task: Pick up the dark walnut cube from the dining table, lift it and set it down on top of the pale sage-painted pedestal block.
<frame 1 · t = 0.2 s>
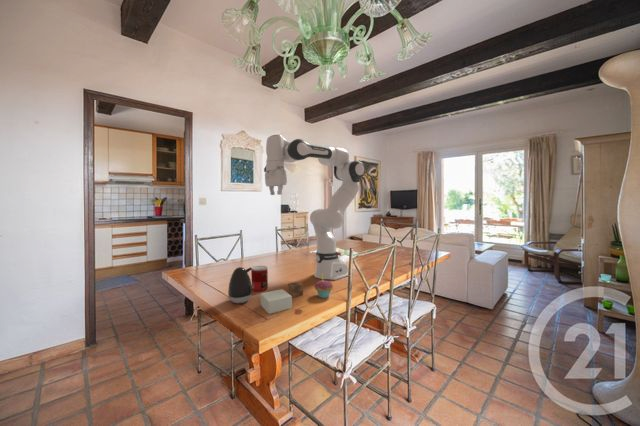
hand: (275, 194, 129), 47 cm above the table, fingers open, 8 cm apart
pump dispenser: (240, 301, 112), on the table
pedestal: (276, 306, 106), on the table
cupcake: (323, 296, 118), on the table
canned food: (259, 289, 127), on the table
walnut cube: (295, 294, 120), on the table
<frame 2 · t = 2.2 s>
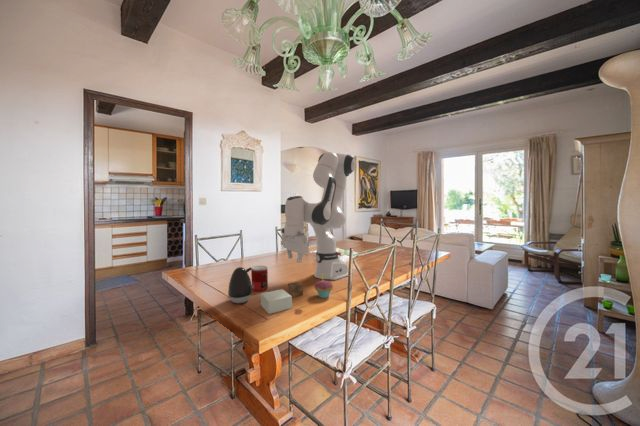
hand: (294, 260, 119), 16 cm above the table, fingers open, 8 cm apart
nothing on the table moved.
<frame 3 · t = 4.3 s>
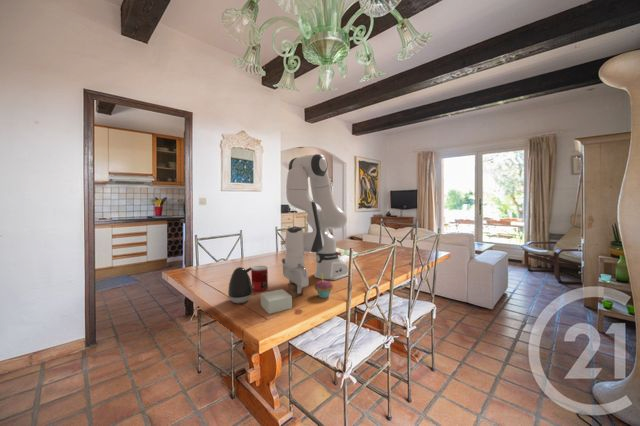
hand: (295, 290, 120), 2 cm above the table, fingers closed on walnut cube, 5 cm apart
walnut cube: (295, 294, 120), on the table, touching gripper
everything else where it was.
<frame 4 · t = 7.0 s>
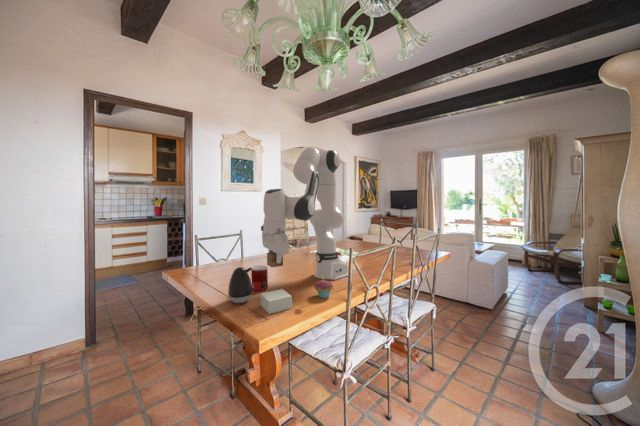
hand: (275, 261, 105), 19 cm above the table, fingers closed on walnut cube, 5 cm apart
walnut cube: (275, 265, 105), point 18 cm above the table, touching gripper
everything else where it was.
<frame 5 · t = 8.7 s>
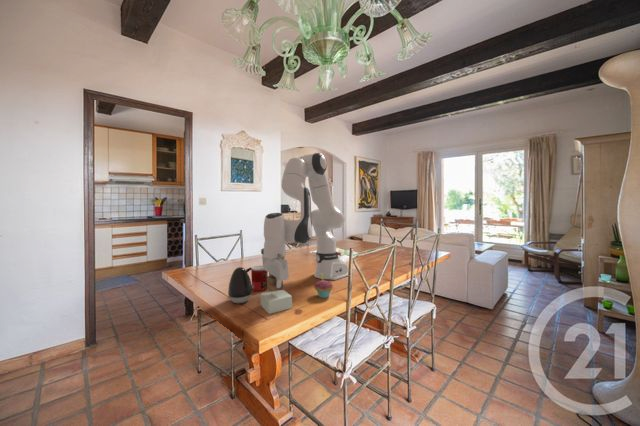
hand: (275, 285, 106), 9 cm above the table, fingers closed on walnut cube, 5 cm apart
walnut cube: (275, 288, 106), point 8 cm above the table, touching gripper
everything else where it was.
when the fingers open (8 cm above the table, at t = 9.9 s): walnut cube stays where it is, resting on pedestal.
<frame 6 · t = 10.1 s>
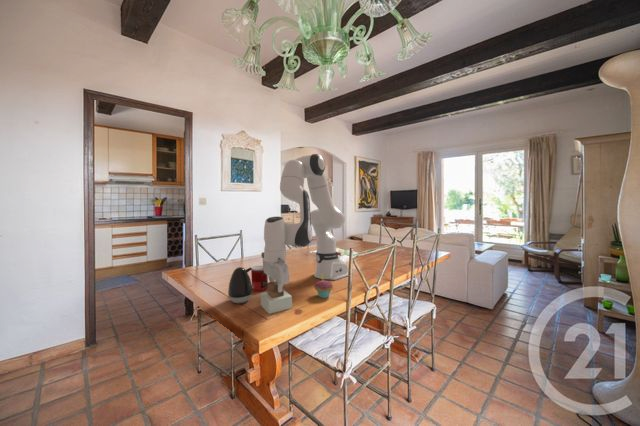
hand: (275, 288, 106), 8 cm above the table, fingers open, 7 cm apart
walnut cube: (275, 294, 106), point 5 cm above the table, touching pedestal
everything else where it was.
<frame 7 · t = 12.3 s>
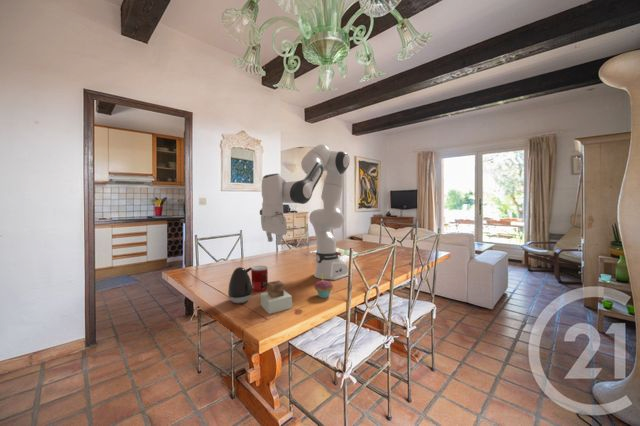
hand: (274, 243, 111), 26 cm above the table, fingers open, 8 cm apart
nothing on the table moved.
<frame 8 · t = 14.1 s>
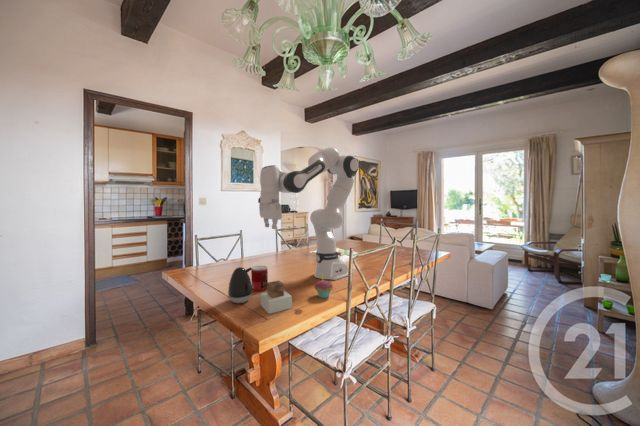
hand: (270, 228, 123), 31 cm above the table, fingers open, 8 cm apart
nothing on the table moved.
at the end: walnut cube inside the target area on the pedestal (0.1 cm from its centre), point 5.0 cm above the pedestal's base; walnut cube tilted 0°; the gripper is holding nothing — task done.
